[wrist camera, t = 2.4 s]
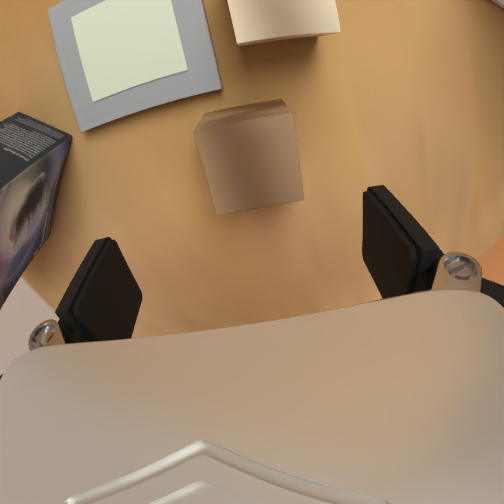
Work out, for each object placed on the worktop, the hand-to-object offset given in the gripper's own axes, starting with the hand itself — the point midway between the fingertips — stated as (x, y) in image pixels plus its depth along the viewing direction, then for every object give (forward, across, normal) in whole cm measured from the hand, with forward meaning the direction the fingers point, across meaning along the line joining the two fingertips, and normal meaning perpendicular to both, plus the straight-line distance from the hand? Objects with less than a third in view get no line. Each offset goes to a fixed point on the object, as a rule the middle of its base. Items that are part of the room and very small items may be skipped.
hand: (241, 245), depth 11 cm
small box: (+12, +17, -3) cm, 21 cm away
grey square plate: (+11, +5, -10) cm, 16 cm away
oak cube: (+11, -4, -10) cm, 15 cm away
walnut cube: (+11, -1, -1) cm, 11 cm away
